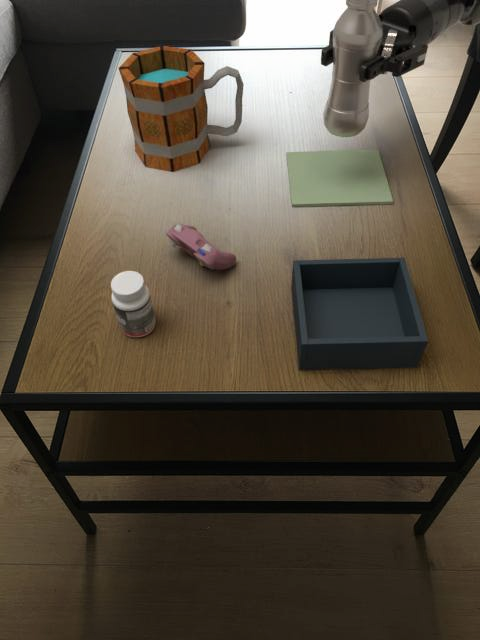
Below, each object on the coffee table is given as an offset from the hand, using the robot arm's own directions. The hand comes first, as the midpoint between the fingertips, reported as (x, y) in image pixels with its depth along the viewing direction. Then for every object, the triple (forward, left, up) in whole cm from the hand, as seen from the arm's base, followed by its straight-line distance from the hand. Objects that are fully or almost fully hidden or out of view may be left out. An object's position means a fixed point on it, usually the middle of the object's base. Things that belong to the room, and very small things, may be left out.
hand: (342, 66), depth 73 cm
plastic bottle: (-2, -2, -11) cm, 11 cm away
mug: (+23, -12, -20) cm, 33 cm away
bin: (0, +29, -20) cm, 35 cm away
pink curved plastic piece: (+20, +16, -20) cm, 33 cm away
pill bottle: (+28, +28, -20) cm, 45 cm away
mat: (-2, -2, -20) cm, 20 cm away
